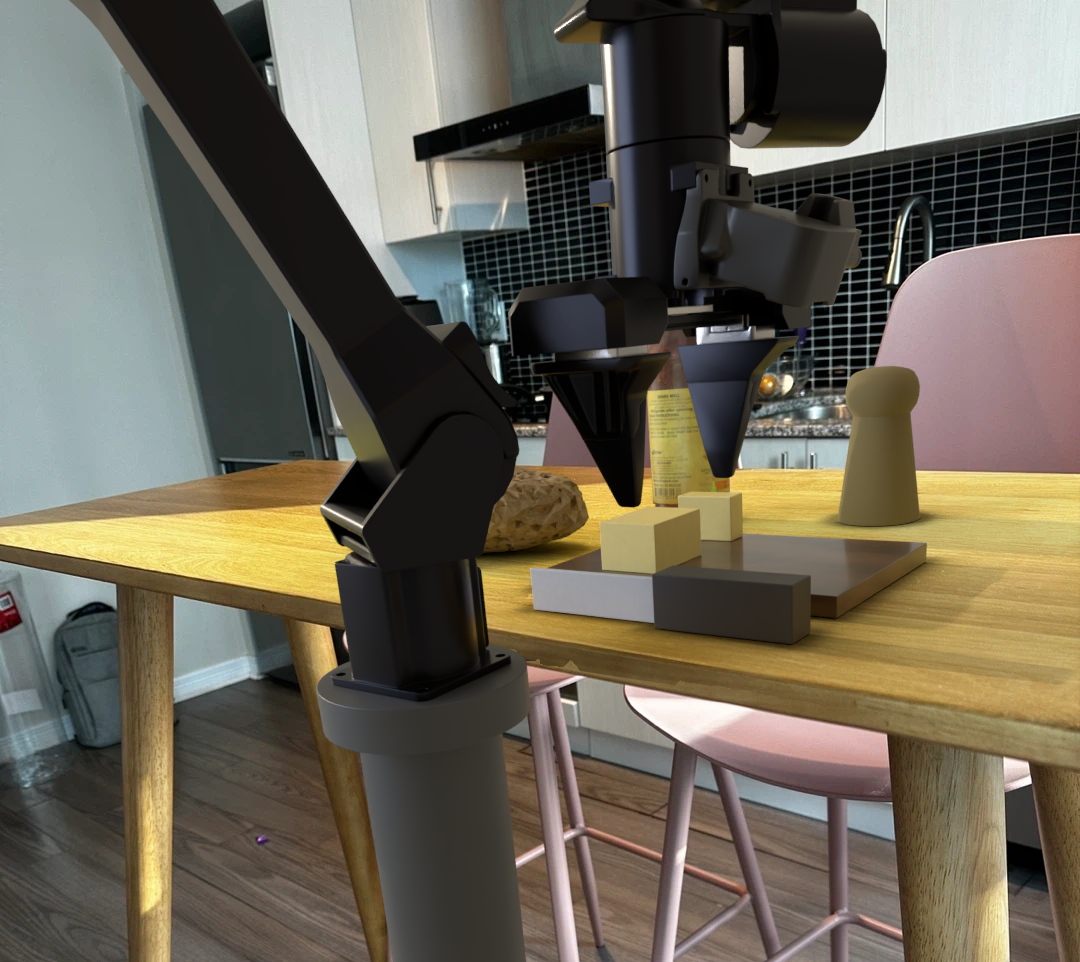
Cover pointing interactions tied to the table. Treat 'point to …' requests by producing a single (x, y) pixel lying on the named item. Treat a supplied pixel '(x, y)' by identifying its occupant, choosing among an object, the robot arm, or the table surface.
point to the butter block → (650, 539)
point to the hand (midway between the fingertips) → (679, 491)
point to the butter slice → (716, 513)
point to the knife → (685, 600)
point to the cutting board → (802, 564)
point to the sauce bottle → (676, 431)
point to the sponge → (535, 511)
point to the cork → (880, 449)
